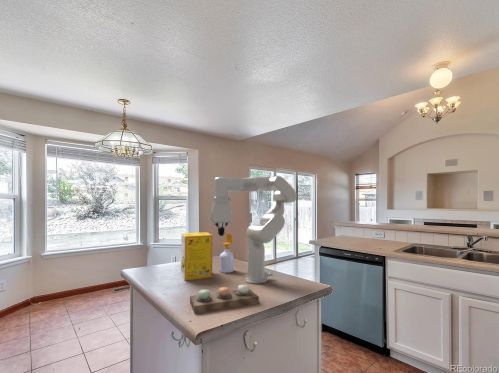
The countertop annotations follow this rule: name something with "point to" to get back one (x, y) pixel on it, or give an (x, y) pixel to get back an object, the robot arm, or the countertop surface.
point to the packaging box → (196, 255)
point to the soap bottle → (227, 257)
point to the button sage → (203, 294)
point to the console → (223, 301)
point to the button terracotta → (224, 291)
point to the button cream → (243, 288)
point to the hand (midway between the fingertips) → (221, 235)
